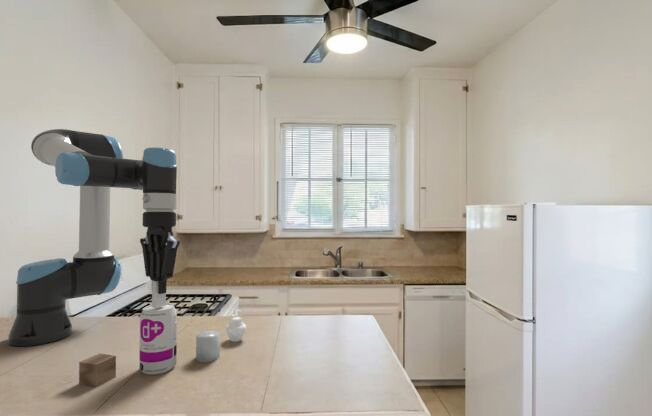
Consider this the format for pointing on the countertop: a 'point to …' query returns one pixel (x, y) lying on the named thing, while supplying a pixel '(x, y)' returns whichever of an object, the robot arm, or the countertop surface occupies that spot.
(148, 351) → the supplement can
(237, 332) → the white ribbed rounded piece
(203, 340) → the white rounded cylinder
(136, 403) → the countertop surface
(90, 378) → the walnut block
